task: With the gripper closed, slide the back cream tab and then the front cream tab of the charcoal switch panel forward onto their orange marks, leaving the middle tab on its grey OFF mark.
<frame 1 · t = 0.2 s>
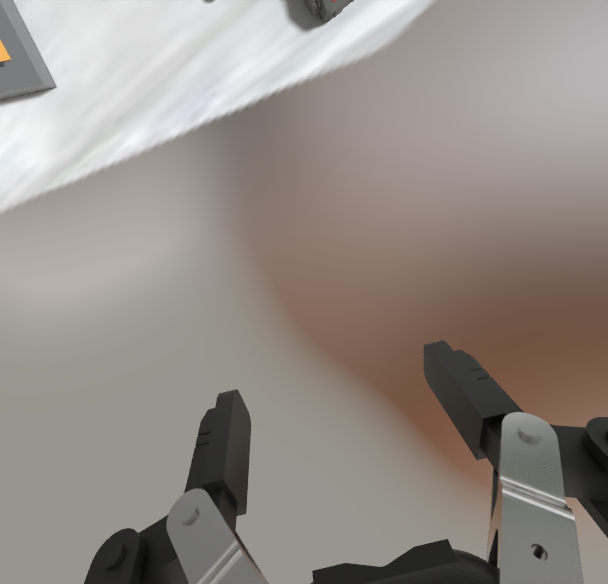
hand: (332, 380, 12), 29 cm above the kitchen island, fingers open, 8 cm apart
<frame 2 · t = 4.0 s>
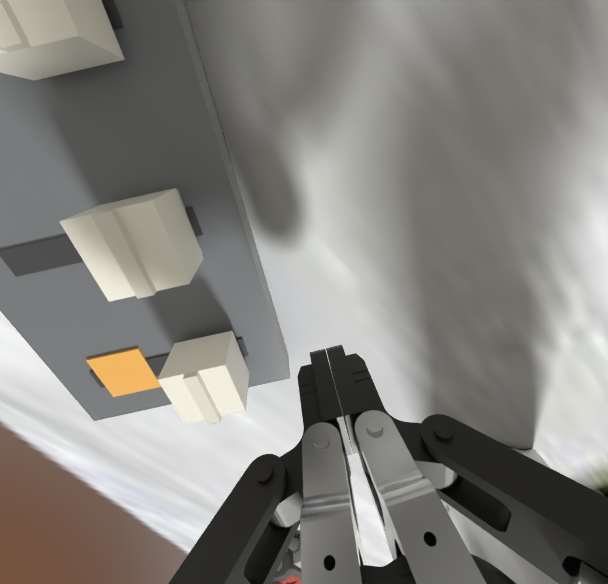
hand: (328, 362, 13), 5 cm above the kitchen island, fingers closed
walkie-talkie: (285, 547, 33), on the kitchen island
switch panel: (123, 229, 14), on the kitchen island
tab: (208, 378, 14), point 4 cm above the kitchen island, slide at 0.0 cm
tab middle: (141, 244, 11), point 4 cm above the kitchen island, slide at 0.0 cm
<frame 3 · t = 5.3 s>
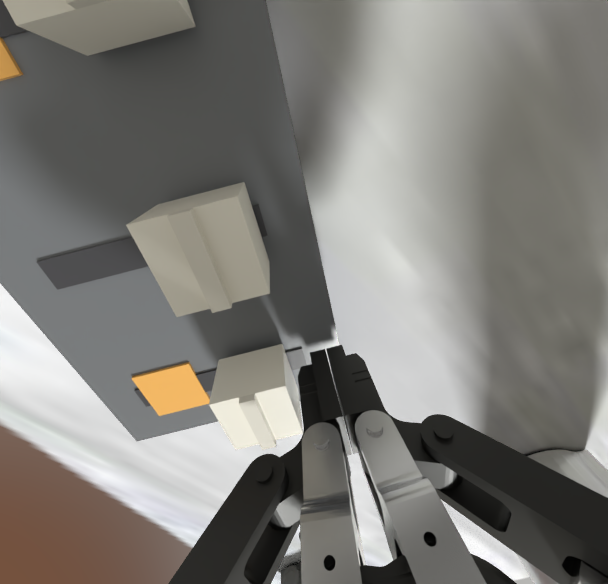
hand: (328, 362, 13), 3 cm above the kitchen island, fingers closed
walkie-talkie: (322, 557, 32), on the kitchen island
switch panel: (171, 231, 13), on the kitchen island
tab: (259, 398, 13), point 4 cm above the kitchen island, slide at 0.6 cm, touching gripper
tab middle: (210, 248, 9), point 4 cm above the kitchen island, slide at 0.0 cm
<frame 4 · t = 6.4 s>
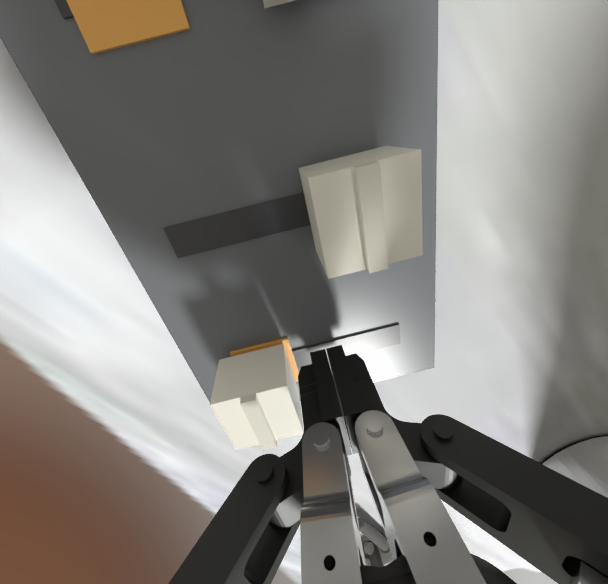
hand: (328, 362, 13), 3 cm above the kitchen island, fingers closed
walkie-talkie: (363, 547, 32), on the kitchen island
switch panel: (278, 204, 13), on the kitchen island
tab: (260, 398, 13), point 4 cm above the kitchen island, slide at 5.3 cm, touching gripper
tab middle: (359, 210, 9), point 4 cm above the kitchen island, slide at 0.0 cm
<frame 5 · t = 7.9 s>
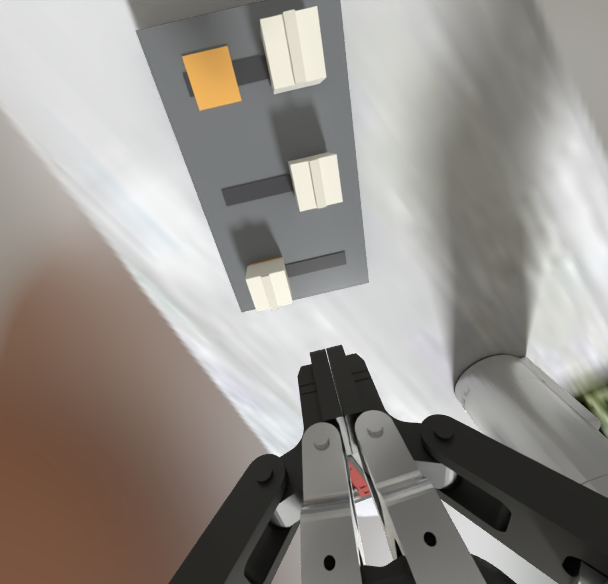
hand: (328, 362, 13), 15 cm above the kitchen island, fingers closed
walkie-talkie: (338, 450, 43), on the kitchen island
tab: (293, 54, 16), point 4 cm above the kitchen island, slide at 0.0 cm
switch panel: (278, 181, 23), on the kitchen island
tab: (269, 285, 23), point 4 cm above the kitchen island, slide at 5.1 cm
tab middle: (315, 181, 20), point 4 cm above the kitchen island, slide at 0.0 cm
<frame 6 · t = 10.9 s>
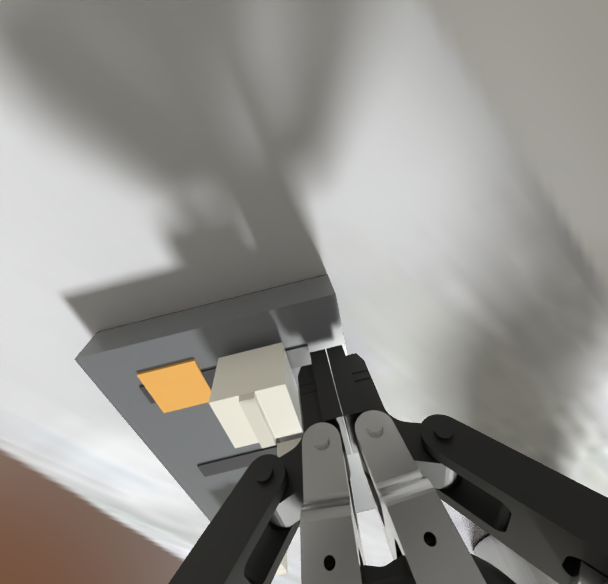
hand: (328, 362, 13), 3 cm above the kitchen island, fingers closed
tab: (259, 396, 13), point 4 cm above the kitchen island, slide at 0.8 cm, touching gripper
switch panel: (267, 425, 19), on the kitchen island
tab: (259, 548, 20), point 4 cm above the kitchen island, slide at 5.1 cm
tab middle: (310, 476, 16), point 4 cm above the kitchen island, slide at 0.0 cm
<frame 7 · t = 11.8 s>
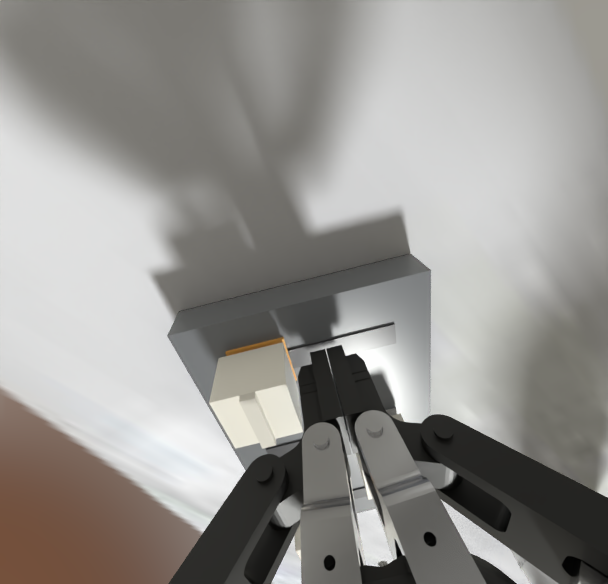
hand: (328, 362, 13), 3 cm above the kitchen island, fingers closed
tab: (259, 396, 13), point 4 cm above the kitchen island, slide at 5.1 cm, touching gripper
switch panel: (328, 410, 19), on the kitchen island
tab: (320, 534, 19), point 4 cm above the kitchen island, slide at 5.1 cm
tab middle: (385, 458, 16), point 4 cm above the kitchen island, slide at 0.0 cm
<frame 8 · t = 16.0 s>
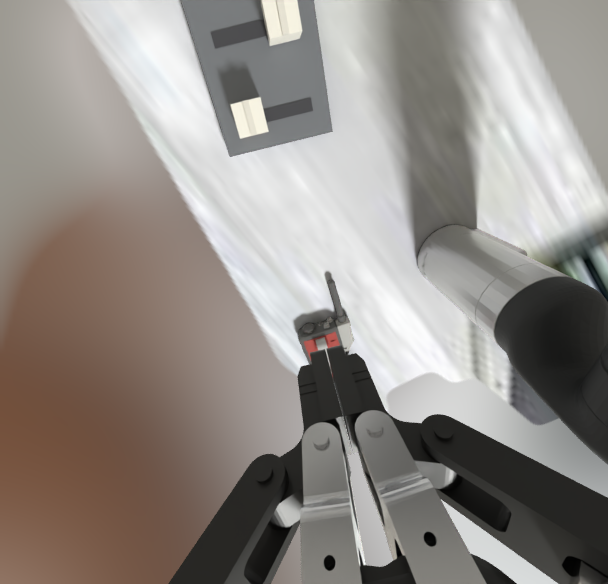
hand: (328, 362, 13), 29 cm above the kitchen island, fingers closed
walkie-talkie: (324, 330, 50), on the kitchen island
switch panel: (256, 36, 30), on the kitchen island
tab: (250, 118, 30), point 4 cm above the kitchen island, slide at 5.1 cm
tab middle: (281, 17, 26), point 4 cm above the kitchen island, slide at 0.0 cm
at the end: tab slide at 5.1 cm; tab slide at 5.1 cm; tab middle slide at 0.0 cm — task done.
